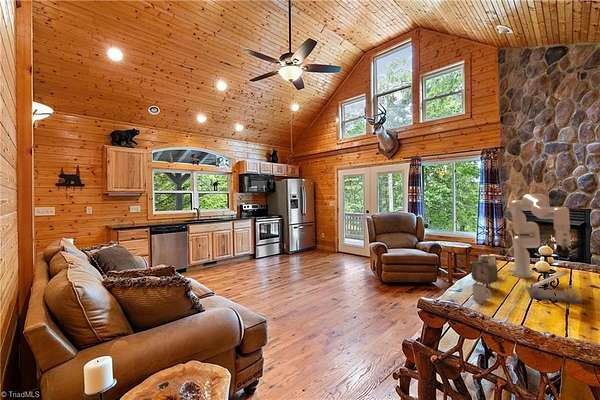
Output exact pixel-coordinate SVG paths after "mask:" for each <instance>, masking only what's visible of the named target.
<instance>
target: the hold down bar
mask: <svg viewBox="0 0 600 400" xmlns="http://www.w3.org/2000/svg"><path fill="white" fill-rule="evenodd" d="M570 273H571V272H570V271H569V270H568V269H567V268H565V269H563V270H561V271H560V272H558V273H556V274H553V275H550V276H548V277H546V278H544V279H542V280H539V281H538V282H535V283H533V284H532V286H536V287H538V288H539V287H540V286H542V285H545V284H547V283H549V282H552V281H554V280H556V279H558V278H562V277H564V276H566V275H568V274H570Z"/></svg>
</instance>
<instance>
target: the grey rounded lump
mask: <svg viewBox="0 0 600 400" xmlns="http://www.w3.org/2000/svg"><path fill="white" fill-rule="evenodd" d="M491 297H492V291H491V289H489V287H487V286H486V284H484V283H477V284H474V283H473V284H472V298H473V300H475V301H478V302H485V301H487V299H490V298H491Z"/></svg>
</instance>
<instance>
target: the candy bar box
mask: <svg viewBox="0 0 600 400" xmlns="http://www.w3.org/2000/svg"><path fill="white" fill-rule="evenodd" d="M488 255H489V257H488ZM488 255H487V254H480V255H479V254H478V261H480V260H481V259H482V257H483V256H485V257H488V258H486V259H487V260H488V262H491V263H494V264H496V265H497V255H495V254H488ZM480 256H482V257H480Z"/></svg>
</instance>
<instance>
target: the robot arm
mask: <svg viewBox="0 0 600 400" xmlns="http://www.w3.org/2000/svg"><path fill="white" fill-rule="evenodd" d="M547 202H548V197H547V195H545V194H544V193H528V194H525V195H523V196H522V198H521V199H516V200H512V201H511V202H510V203H509V206H508V207H509V212H510V214H511V217H512V218H511V219H512V226H513V227H512V228H513V232H514V233H515V234H518V235H516V236H513V238H512V240H511V241H512V245H513V253H514V254H513V255H514V268H513V269H510V268H509V269H507V272H509V273H512V275H513V276H515V277H516V278H523V279H526V278H528V279H529V278H533V277H534V275H533V274H531V259H530V252H529V251H528V250H527V249H533V248H534V249H537V248H539V247H540V246H541V236H540V235H541V234H540V228H539V225H538V224H537V222H534V221H527V216H526V214H525V213H524V212H523V211H525V212H526V211H531V214H532V215H533V216H535V217H537V218H538V219H542V220H547V219H548V220H549V219H550V220H553V230H554V231H555V243H556V254H561V255H562V257H569V256H570V247H571V245H572V242H571V235H570V234H571V233H570V230H571V223H570V220H571V219H570V210H569V208H566V207H559V206H554V207H550V206H549V207H547Z"/></svg>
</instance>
